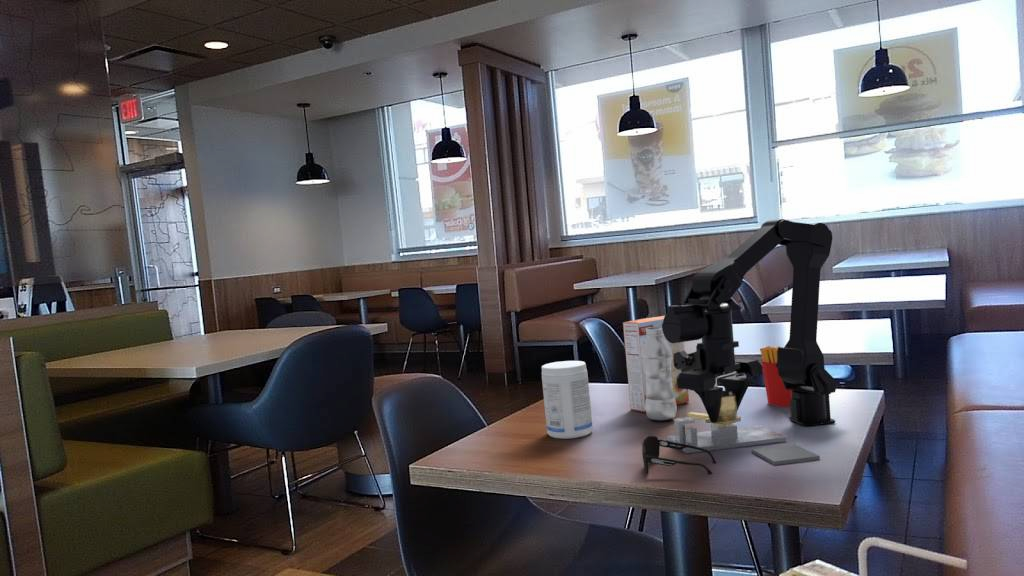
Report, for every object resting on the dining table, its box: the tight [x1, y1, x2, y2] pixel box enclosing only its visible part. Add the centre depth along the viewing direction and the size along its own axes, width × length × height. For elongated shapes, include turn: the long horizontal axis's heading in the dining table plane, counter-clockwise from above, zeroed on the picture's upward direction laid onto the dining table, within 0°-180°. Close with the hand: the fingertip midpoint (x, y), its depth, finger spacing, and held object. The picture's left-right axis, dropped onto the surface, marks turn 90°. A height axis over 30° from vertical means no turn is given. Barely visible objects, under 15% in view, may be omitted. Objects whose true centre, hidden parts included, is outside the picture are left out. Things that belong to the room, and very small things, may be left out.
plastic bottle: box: [641, 327, 678, 422], centre depth 153 cm, size 6×7×20 cm
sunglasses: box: [641, 435, 717, 475], centre depth 120 cm, size 10×12×5 cm
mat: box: [751, 443, 821, 466], centre depth 121 cm, size 8×8×1 cm
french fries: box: [759, 345, 794, 408], centre depth 159 cm, size 9×4×13 cm, turn 39°
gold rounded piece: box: [687, 389, 742, 425], centre depth 135 cm, size 10×5×6 cm, turn 40°
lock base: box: [666, 416, 787, 454], centre depth 133 cm, size 19×10×5 cm, turn 97°
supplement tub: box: [541, 360, 593, 440], centre depth 148 cm, size 10×10×15 cm
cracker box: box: [622, 315, 690, 413], centre depth 166 cm, size 14×6×21 cm, turn 122°
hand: (723, 419), depth 133 cm, fingers closed on gold rounded piece, 5 cm apart
